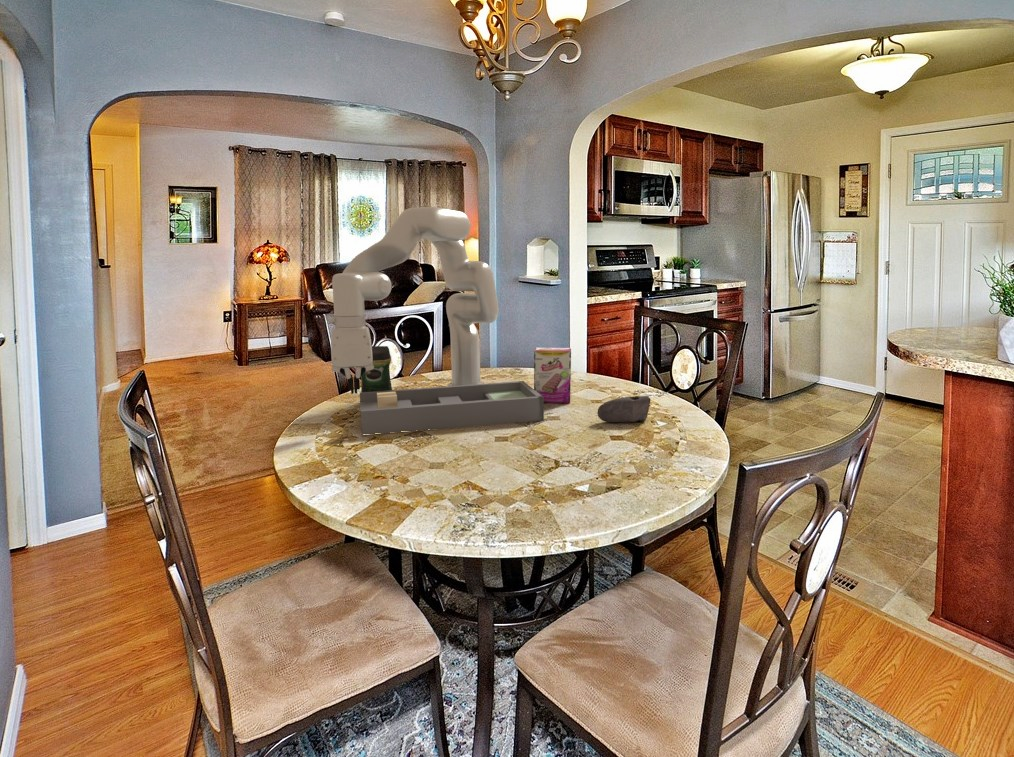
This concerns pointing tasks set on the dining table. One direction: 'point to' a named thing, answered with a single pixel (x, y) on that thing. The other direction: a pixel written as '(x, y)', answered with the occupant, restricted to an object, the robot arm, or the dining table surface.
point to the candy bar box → (553, 374)
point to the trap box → (452, 407)
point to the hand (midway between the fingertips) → (354, 392)
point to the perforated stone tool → (625, 409)
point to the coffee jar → (378, 371)
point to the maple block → (387, 400)
